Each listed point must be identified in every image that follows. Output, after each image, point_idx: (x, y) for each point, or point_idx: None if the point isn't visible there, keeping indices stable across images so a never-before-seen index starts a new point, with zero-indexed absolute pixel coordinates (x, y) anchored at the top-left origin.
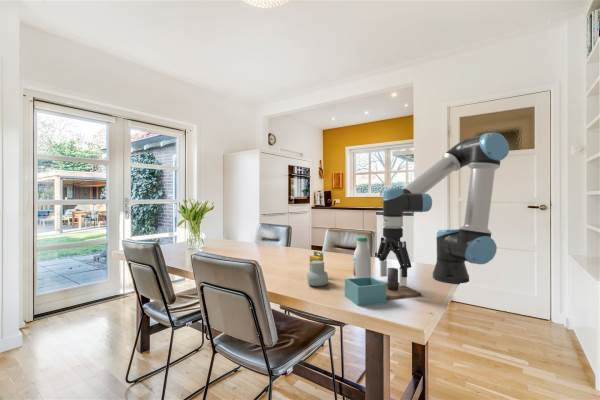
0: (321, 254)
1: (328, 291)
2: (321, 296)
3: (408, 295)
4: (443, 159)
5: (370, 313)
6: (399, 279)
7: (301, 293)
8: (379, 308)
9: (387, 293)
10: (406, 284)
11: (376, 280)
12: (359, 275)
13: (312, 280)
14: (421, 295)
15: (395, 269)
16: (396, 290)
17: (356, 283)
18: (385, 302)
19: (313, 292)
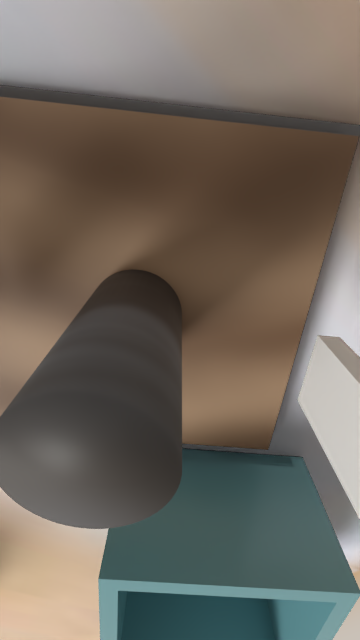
0: None
1: (15, 568)
2: (80, 603)
3: (311, 287)
4: None
5: (346, 552)
6: (324, 447)
7: (23, 635)
8: (326, 505)
9: (216, 411)
10: (344, 346)
11: (226, 594)
12: None
13: None
14: (340, 131)
15: (137, 453)
16: (182, 310)
17: (123, 605)
18: (305, 470)
19: (18, 608)
